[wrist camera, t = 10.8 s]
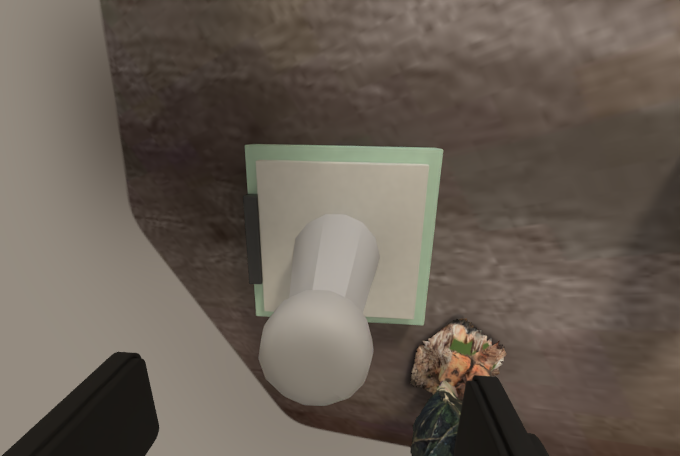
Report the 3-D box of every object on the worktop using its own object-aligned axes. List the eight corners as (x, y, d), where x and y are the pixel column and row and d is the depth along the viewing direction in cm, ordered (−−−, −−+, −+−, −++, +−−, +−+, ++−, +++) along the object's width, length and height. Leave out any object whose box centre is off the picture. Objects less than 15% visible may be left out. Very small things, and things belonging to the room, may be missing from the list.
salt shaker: (301, 278, 24) (237, 430, 12) (297, 206, 23) (217, 296, 10) (377, 279, 24) (392, 439, 12) (379, 206, 22) (398, 300, 10)
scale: (255, 143, 25) (238, 145, 22) (435, 147, 24) (447, 150, 21) (264, 301, 29) (251, 323, 26) (418, 309, 28) (426, 333, 25)
